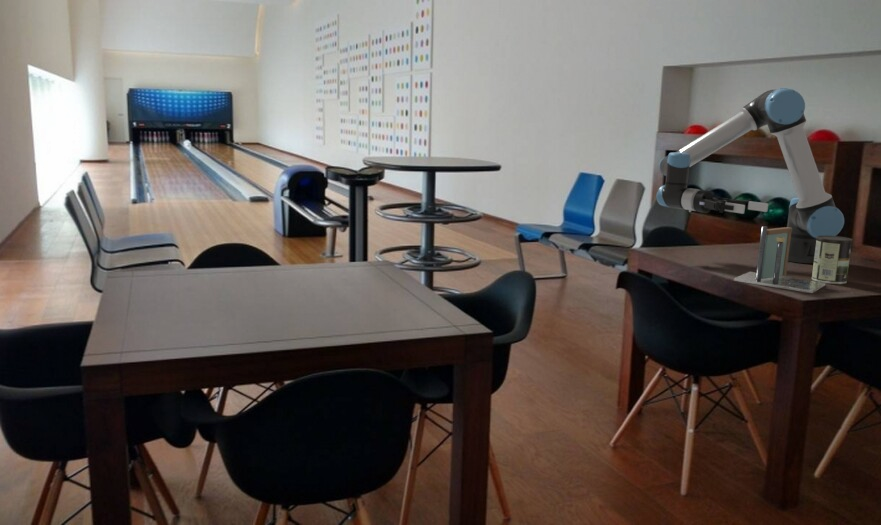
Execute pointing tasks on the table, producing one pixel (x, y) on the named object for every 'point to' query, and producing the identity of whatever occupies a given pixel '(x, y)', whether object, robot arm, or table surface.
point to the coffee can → (831, 259)
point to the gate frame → (777, 271)
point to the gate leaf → (772, 249)
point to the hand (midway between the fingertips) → (755, 208)
